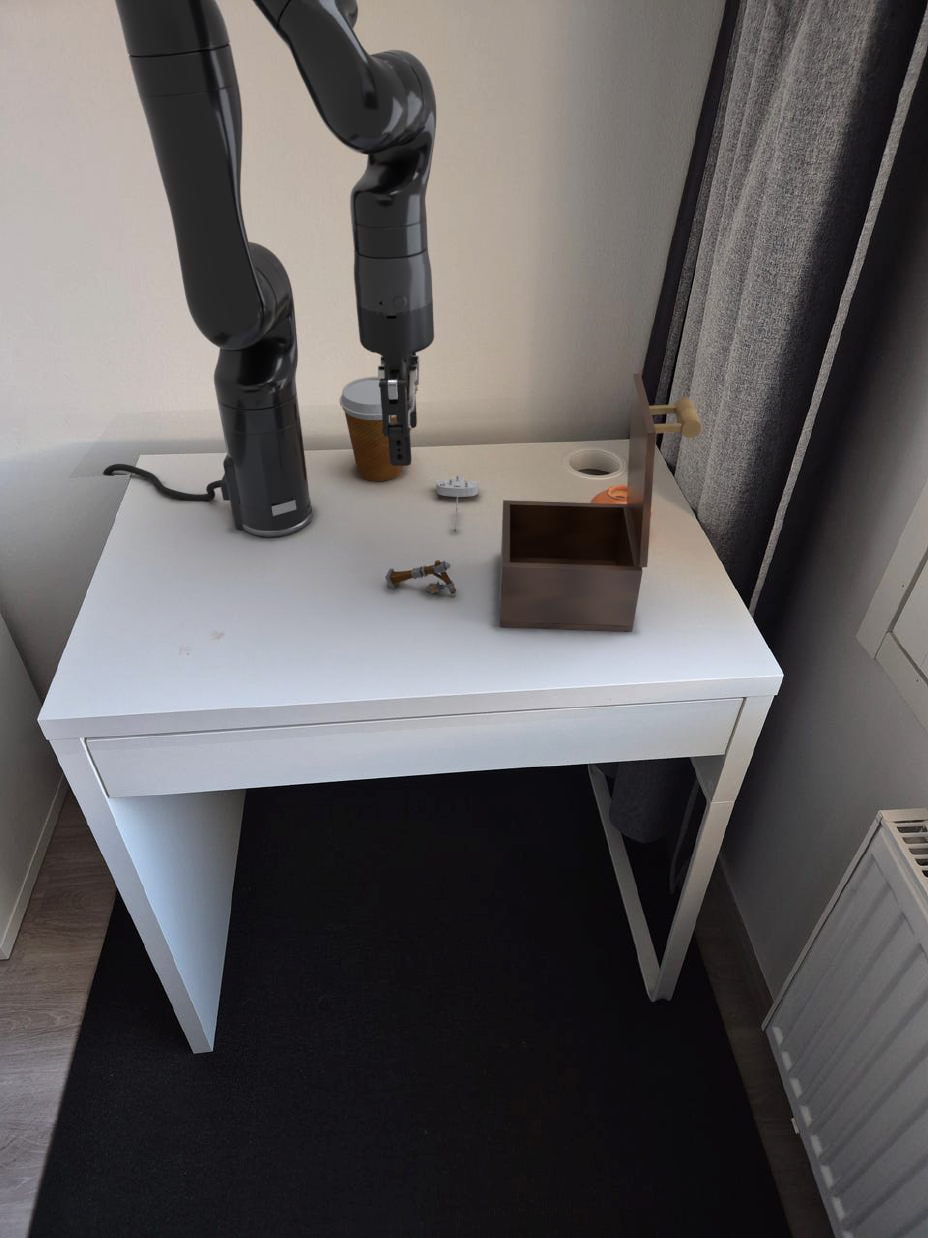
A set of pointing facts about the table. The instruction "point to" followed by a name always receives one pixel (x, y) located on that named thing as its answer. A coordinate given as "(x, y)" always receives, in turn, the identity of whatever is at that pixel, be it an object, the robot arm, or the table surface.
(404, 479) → the table surface
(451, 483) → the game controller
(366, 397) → the disposable coffee cup
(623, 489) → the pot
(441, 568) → the wooden post with brackets
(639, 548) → the lid
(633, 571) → the chest
